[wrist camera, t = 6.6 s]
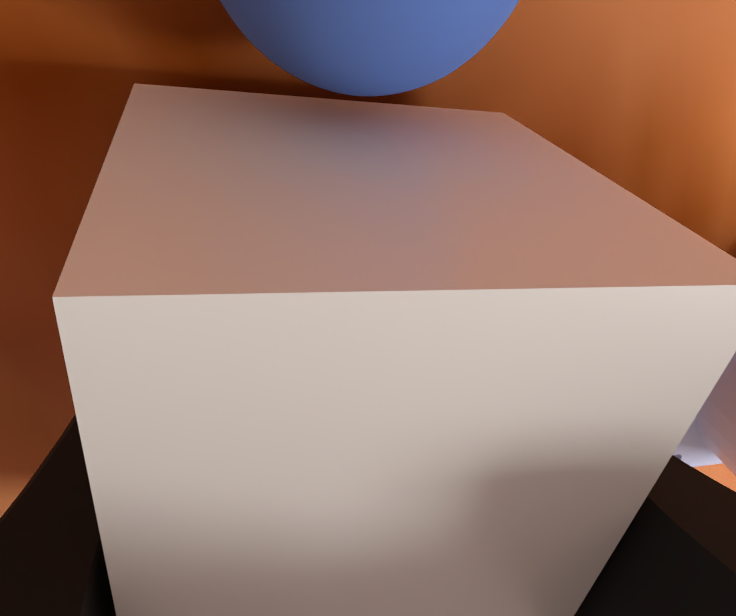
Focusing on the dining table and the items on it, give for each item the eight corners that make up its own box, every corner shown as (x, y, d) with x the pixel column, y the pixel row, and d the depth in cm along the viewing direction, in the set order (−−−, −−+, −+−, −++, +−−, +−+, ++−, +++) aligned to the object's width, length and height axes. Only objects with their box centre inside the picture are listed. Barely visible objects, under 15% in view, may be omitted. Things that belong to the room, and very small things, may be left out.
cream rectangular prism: (503, 112, 9) (776, 284, 5) (404, 496, 14) (494, 745, 10) (134, 82, 8) (51, 296, 3) (172, 525, 13) (160, 834, 8)
